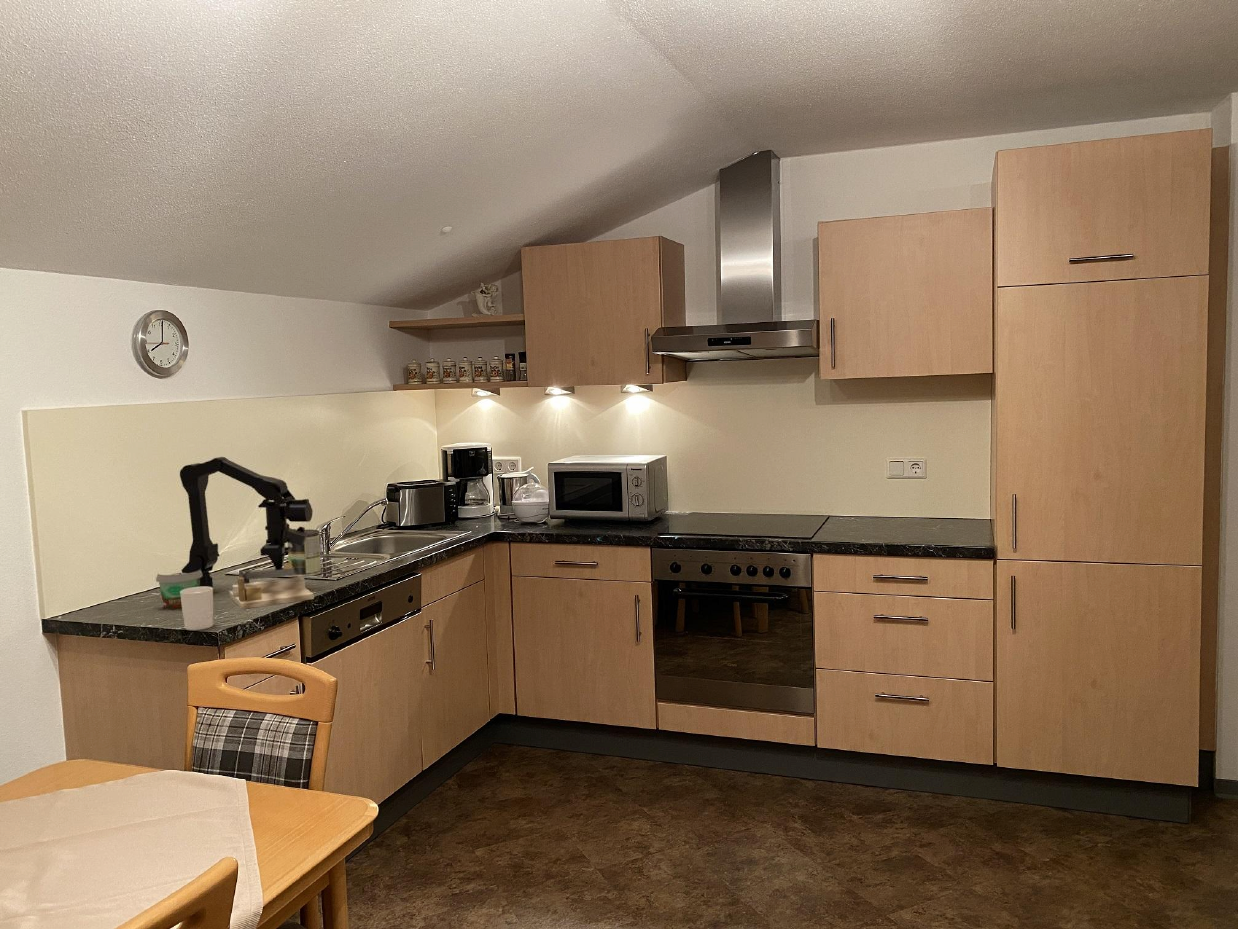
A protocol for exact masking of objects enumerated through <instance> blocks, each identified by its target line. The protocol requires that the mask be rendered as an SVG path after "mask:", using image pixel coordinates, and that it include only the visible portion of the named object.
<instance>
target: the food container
mask: <svg viewBox="0 0 1238 929" xmlns="http://www.w3.org/2000/svg"><path fill="white" fill-rule="evenodd" d="M202 576H203V575H202V571H200V570H198V571H196V572H192V573H182V572H177V573H172V574H159V573H157V575H156V576H155V577H156V578H155V581H156V582H158V585H159V589H160V595H161V601H162V605H163V609H167V610H182V604H181V595H180V591H181V590H184V589H187V588H193V587H200V578H201V577H202Z"/></svg>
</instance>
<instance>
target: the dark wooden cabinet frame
mask: <svg viewBox="0 0 1238 929" xmlns="http://www.w3.org/2000/svg"><path fill="white" fill-rule="evenodd" d="M291 575H294V567H292V563H289V562H286V563H284V562H283V567H282V568H275V567H274V568H266V569H265V568H264V569H255V570H241V571H239V572H238V578H239V577H242V578H244V580H248V579H249V580H256V579H265V578H266V579H267V578H278V577H288V576H289V577H292V576H291Z"/></svg>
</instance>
